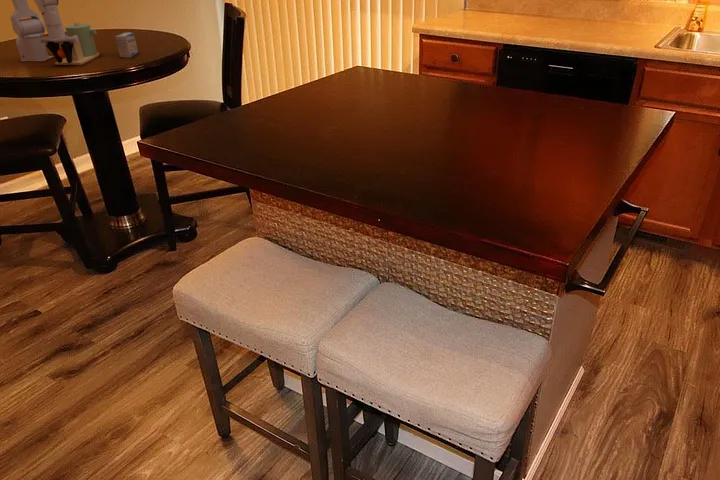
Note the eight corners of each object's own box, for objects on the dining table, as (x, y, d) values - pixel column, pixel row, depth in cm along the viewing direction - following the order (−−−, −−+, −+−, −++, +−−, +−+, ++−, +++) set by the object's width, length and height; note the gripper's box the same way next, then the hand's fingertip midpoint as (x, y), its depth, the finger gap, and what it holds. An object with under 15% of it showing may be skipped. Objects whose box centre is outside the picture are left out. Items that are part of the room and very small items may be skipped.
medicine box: (131, 58, 233) (125, 36, 229) (120, 58, 233) (114, 36, 229) (138, 54, 240) (133, 32, 235) (128, 54, 240) (123, 32, 235)
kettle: (68, 60, 231) (57, 24, 223) (81, 54, 240) (71, 19, 233) (96, 60, 231) (87, 25, 223) (109, 54, 240) (100, 20, 233)
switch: (67, 59, 219) (62, 51, 216) (58, 59, 219) (54, 51, 216) (77, 43, 226) (73, 35, 223) (68, 43, 226) (64, 35, 223)
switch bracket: (81, 66, 223) (73, 39, 217) (55, 65, 223) (47, 39, 217) (95, 58, 233) (88, 33, 227) (71, 58, 233) (63, 33, 228)
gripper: (28, 26, 210) (41, 64, 217) (67, 27, 210) (78, 65, 217) (39, 23, 216) (51, 60, 223) (77, 23, 216) (87, 60, 223)
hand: (65, 62), depth 221 cm, fingers closed on switch, 3 cm apart
